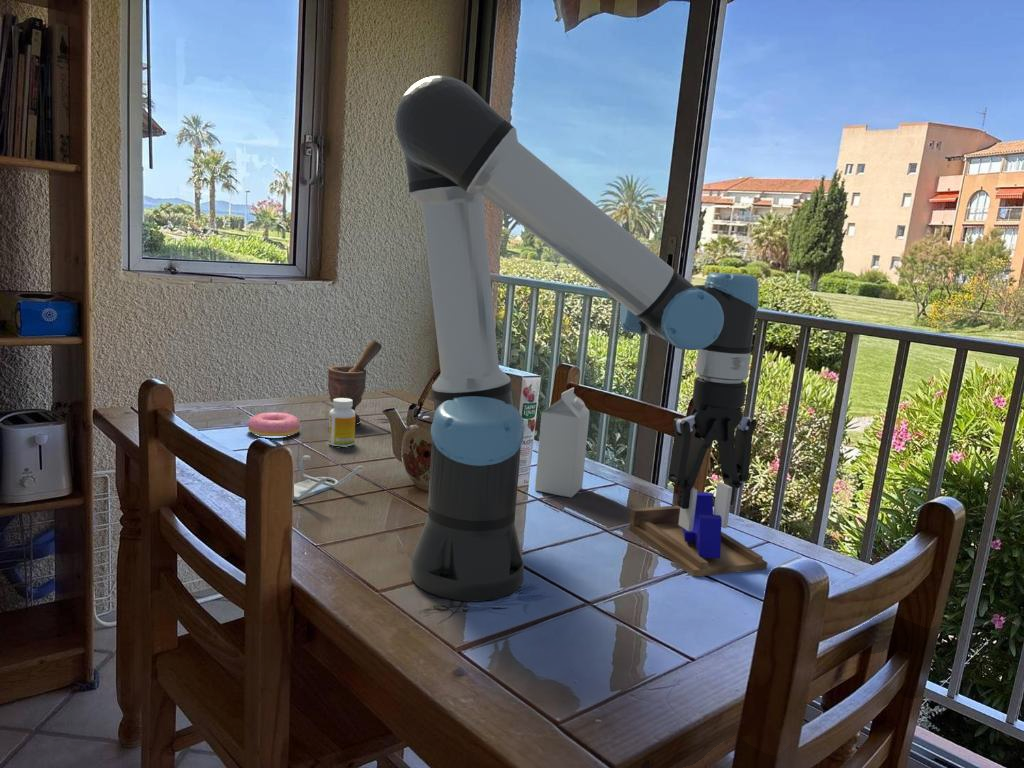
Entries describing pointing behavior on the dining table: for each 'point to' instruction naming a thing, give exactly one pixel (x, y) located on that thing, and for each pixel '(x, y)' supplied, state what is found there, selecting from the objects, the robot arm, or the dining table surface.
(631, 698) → the dining table surface
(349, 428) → the supplement bottle
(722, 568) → the tray
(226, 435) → the dining table surface
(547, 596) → the dining table surface
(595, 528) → the dining table surface
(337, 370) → the mortar and pestle
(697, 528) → the blue stepped block
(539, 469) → the milk carton
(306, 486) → the wall mount rack
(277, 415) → the doughnut
